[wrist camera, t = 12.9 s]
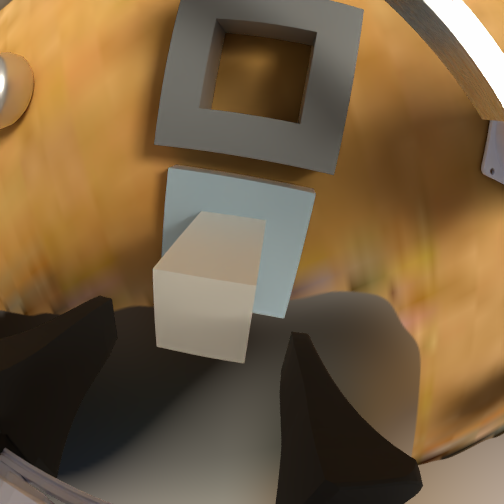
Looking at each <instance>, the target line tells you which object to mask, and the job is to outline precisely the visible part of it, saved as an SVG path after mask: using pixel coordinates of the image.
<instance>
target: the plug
mask: <svg viewBox="0 0 504 504" xmlns="http://www.w3.org/2000/svg"><path fill="white" fill-rule="evenodd" d="M265 225H266V220H261V219H255V218H248V217H241V216H234V215H227V214H220V213H212V212H205V211H201V212H200V213H199V214H198V216H197V217H196V218H195V219H194V220H193V221H192V223H191V224H190V225H189V226H188V227H187V228H186V229H185V231H184V232H183V233H182V234H181V235H180V236H179V238H178V239H177V240H176V241H175V242H174V244H173V245H172V246H171V247H170V248H169V250H168V251H167V252H166V253H165V254H164V256H163V257H162V258H161V259H160V260H159V262H158V263H157V264H156V265H155V266H154V268H153V293H154V312H155V329H156V342H157V347H162V348H166V349H170V350H175V351H180V352H185V353H189V354H195V355H199V356H205V357H210V358H216V359H221V360H227V361H233V362H239V363H244V361H245V355H246V349H247V342H248V336H249V330H250V323H251V317H252V311H253V304H254V298H255V291H256V285H257V278H258V272H259V265H260V258H261V252H262V245H263V238H264V231H265Z"/></svg>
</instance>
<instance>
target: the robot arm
mask: <svg viewBox="0 0 504 504" xmlns="http://www.w3.org/2000/svg"><path fill="white" fill-rule="evenodd" d="M491 168H492V173H490V170H491ZM481 171H482V173H483V174H484V175H486V176H488V177H490V178H492V179H494V180H496V181H498V182H500V183H502V184H504V121H494V120H490V124H489V130H488V136H487V141H486V146H485V151H484V156H483V161H482V165H481ZM116 340H117V331H116V325H115V318H114V311H113V304H112V299H111V298H107V297H103V296H98V297H95V298H93V299H91V300H89V301H87V302H85V303H83V304H81V305H79V306H78V307H76V308H74V309H72V310H70V311H68V312H66V313H64V314H62V315H60V316H58V317H57V318H54V319H52V320H50V321H48V322H46V323H44V324H42V325H40V326H37V327H35V328H32V329H30V330H27V331H25V332H22V333H19V334H16V335H13V336H9V337H6V338H2V339H0V504H54V503H53V502H52V501H51V500H49V499H48V497H46V495H44V494H43V493H41V492H40V491H38V490H37V489H35V488H34V487H33V486H35V487H36V488H38V489H40V490H41V491H43V492H45V493H47V494H49V495H50V496H52V497H54V498H56V499H58V500H60V501H61V502H63V503H65V504H111V503H109V502H106V501H104V500H101V499H99V498H96V497H94V496H92V495H90V494H87V493H85V492H83V491H80V490H78V489H76V488H74V487H72V486H70V485H68V484H66V483H64V482H62V481H60V480H58V479H56V478H57V475H58V470H59V465H60V461H61V456H62V452H63V449H64V446H65V443H66V439H67V436H68V433H69V430H70V428H71V425H72V423H73V420H74V417H75V415H76V413H77V411H78V408H79V405H80V403H81V402H82V400H83V398H84V396H85V394H86V392H87V391H88V389H89V388H90V386H91V384H92V383H93V381H94V380H95V378H96V376H97V374H98V373H99V372H100V370H101V368H102V367H103V365H104V364H105V362H106V360H107V359H108V357H109V355H110V353H111V351H112V349H113V347H114V344H115V342H116ZM280 414H281V439H282V441H281V442H282V443H281V445H282V447H281V460H280V470H279V480H278V489H277V497H276V504H404V503H405V502H407V501H408V500H410V499H411V498H412V497H414V496H415V495H416V494H417V493H418V492H419V491H420V490H421V488H422V486H423V484H422V480H421V475H420V471H419V468H418V465H417V462H416V460H415V459H413V458H412V457H410V456H408V455H407V454H406V453H404V452H403V451H401V450H400V449H398V448H396V447H395V446H393V445H392V444H391V443H390V442H389V441H387V440H386V439H385V438H384V437H382V436H381V435H380V434H379V433H378V432H377V431H375V430H374V429H373V428H372V427H371V426H370V425H369V424H368V423H367V422H366V421H365V420H364V419H363V418H362V417H361V416H360V415H359V414H358V412H357V411H356V410H355V409H354V408H353V407H352V405H351V404H350V403H349V402H348V401H347V399H346V398H345V397H344V395H343V394H342V392H340V390H339V388H338V387H337V386H336V384H335V382H334V381H333V379H332V378H331V376H330V374H329V373H328V371H327V369H326V368H325V366H324V364H323V363H322V361H321V359H320V357H319V355H318V353H317V351H316V349H315V347H314V345H313V343H312V341H311V339H310V337H309V335H308V334H305V333H296V332H291V336H290V340H289V343H288V348H287V351H286V355H285V358H284V362H283V366H282V370H281V381H280ZM29 483H30V484H32V485H33V486H31V485H30V484H29Z"/></svg>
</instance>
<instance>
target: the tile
mask: <svg viewBox="0 0 504 504" xmlns="http://www.w3.org/2000/svg"><path fill="white" fill-rule="evenodd" d="M315 195H316V193H315V191H314V189H313V188H308V187H303V186H299V185H294V184H289V183H284V182H279V181H274V180H269V179H263V178H258V177H252V176H247V175H241V174H235V173H229V172H223V171H217V170H211V169H204V168H197V167H191V166H183V165H174V166H171V167H169V168H168V176H167V186H166V198H165V210H164V224H163V240H162V257H163V256H164V254H165V253H166V252H167V251H168V250H169V248H170V247H171V246H172V245H173V244H174V242H175V241H176V240H177V239H178V238H179V236H180V235H181V234H182V233H183V232H184V231H185V229H186V228H187V227H188V226H189V225H190V224H191V223H192V221H193V220H194V219H195V218H196V217H197V216H198V214H199V213H200V212H201V211H205V212H212V213H220V214H227V215H234V216H241V217H248V218H255V219H261V220H266V225H265V231H264V238H263V245H262V252H261V258H260V265H259V272H258V278H257V285H256V291H255V298H254V304H253V311H252V313H257V314H262V315H268V316H273V317H279V318H284V317H285V313H286V309H287V306H288V302H289V299H290V295H291V291H292V288H293V284H294V280H295V276H296V272H297V269H298V265H299V261H300V257H301V253H302V249H303V245H304V241H305V237H306V233H307V229H308V225H309V221H310V217H311V212H312V208H313V204H314V200H315Z"/></svg>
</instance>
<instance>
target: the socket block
mask: <svg viewBox="0 0 504 504" xmlns="http://www.w3.org/2000/svg"><path fill="white" fill-rule="evenodd" d="M363 12H364V10H363V9H360V8H356V7H353V6H349V5H346V4H342V3H338V2H334V1H330V0H181V1H180V5H179V9H178V13H177V17H176V21H175V25H174V30H173V34H172V39H171V43H170V48H169V53H168V58H167V63H166V68H165V74H164V79H163V85H162V91H161V98H160V104H159V111H158V118H157V125H156V133H155V142H154V145H161V146H171V147H179V148H187V149H195V150H202V151H210V152H216V153H223V154H229V155H236V156H242V157H248V158H253V159H259V160H265V161H270V162H275V163H280V164H285V165H290V166H295V167H300V168H305V169H309V170H314V171H318V172H323V173H327V174H331V175H334V173H335V168H336V164H337V159H338V155H339V150H340V146H341V141H342V136H343V131H344V126H345V121H346V116H347V111H348V106H349V101H350V95H351V90H352V84H353V78H354V73H355V67H356V61H357V54H358V48H359V41H360V34H361V27H362V20H363ZM226 33H231V34H241V35H251V36H259V37H266V38H273V39H279V40H285V41H291V42H296V43H301V44H306V45H311V46H312V47H311V53H310V58H309V64H308V69H307V75H306V80H305V85H304V91H303V96H302V102H301V107H300V112H299V117H298V123H293V122H288V121H283V120H278V119H272V118H266V117H261V116H255V115H248V114H242V113H235V112H227V111H220V110H211V108H212V102H213V96H214V90H215V85H216V79H217V74H218V69H219V63H220V58H221V53H222V48H223V43H224V38H225V34H226Z"/></svg>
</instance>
